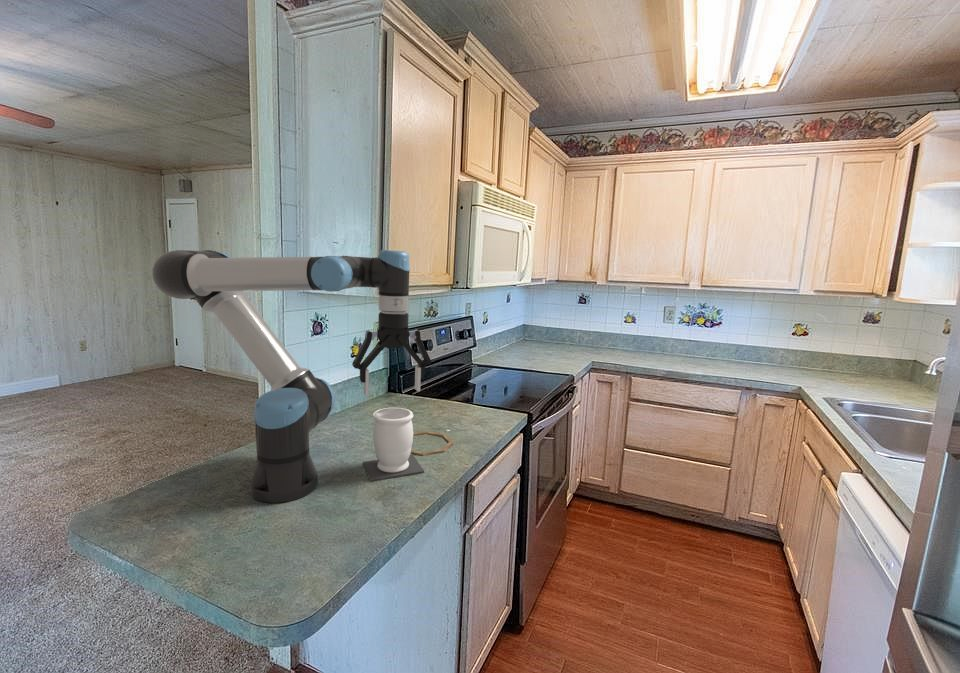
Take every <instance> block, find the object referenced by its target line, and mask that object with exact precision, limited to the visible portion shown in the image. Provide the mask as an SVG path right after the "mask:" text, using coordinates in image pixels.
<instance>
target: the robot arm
mask: <svg viewBox="0 0 960 673" xmlns="http://www.w3.org/2000/svg"><path fill="white" fill-rule="evenodd" d="M378 252H379V253H378V256H377V257H366V256H352V255H351V256H350V255H325V256H273V257H269V256H267V257H259V256H258V257H232V256H231V255H228V254H227V253H224V252H221V251H217V250H212V249H205V250H184V249H178V250H177V249H176V250H171V251H167V252H165V253H163V254H162V255H161V256H159V257H158V258H157V259H156V261H155V262H154V264H153V266H152V269H151V270H152V271H151V272H152V273H151V274H152V279H153V283H154V284H155V285H156V287H157V289H159V291H161V292H162V293H163V294H165V295H166V296H169V297H171V298H174V299H179V300H188V299H189V300H191V299H194V300H195V301H196V302H197V303H198V305H199V306H200V308H201V309H202V310H203V311H204V312H209V313H213V314H214V315H215V316H216V318H217V319H218V320H219V321H220V322H221V324H222V325H223V327H224V328H225V329H226V330H227V331H228V333H229V335H231V337H232V338H233V339H234V341H235V342H236V343H237V345H238V346H239V347H240V348H241V350H242V351H243V353H244V354H246V356H247V357H248V359H249V360H250V361H251V363H252V364H253V365H254V366H255V367H256V369H257V370H258V371H259V374H260V375H261V376H262V377H263V378H264V380H266V382H267V383H268V385H269V386H270V391H266V392H265V393H264V394H262V395H260V396H259V397H258V398H257V399H256V401H255V403H254V412H253V420H254V427H255V429H254V431H255V444H256V445H255V447H256V463H255V466H254V469H253V473H252V476H251V479H250V483H249V490H250V496H251V497H252V498H253V499H254V500H256V501H257V502H261V503H262V502H263V503H270V504H276V503H277V504H279V503H280V504H281V503H286V502H291V501H294V500H298V499H301V498H304V497H305V496H307V495H309V494H310V493H312V492H313V491H314V490H315V489H316V488H317V486H318V483H319V480H318V479H319V478H318V477H319V476H318V471H317V469H316V466H315V464H314V461H313V460H312V457H311V453H310V432H312V431H313V430H314V429H316V426H318V425H319V424H320V423H322V422H323V421H325V420H326V419H327V418H328V417H329V415H330V413H331V412H332V411H333V409H334V406H335V402H336V399H335V398H336V396H335V392H334V389H333V388H332V386H331V384H329V382H328V381H326V380H325V379H322V378H319V377H316V376H315V375H314V374H313V372H312V371H311V370H310V368H304V367H301V366H300V365H299V364H298V362H297V361H296V360H295V359H294V357H293V356H292V354H290V352H289V350H287V349H286V347H285V346H284V344H283V343H282V342H281V340H280V338H278V336H277V335H276V333H275V332H274V331H273V330H272V329H271V328H270V326H269V325H268V323H267V322H266V321H265V320H264V318H263V317H262V316H261V314H260V313H259V311H258V310H257V309H256V308H255V307H254V305H253V304H252V302H251V301H250V300H249V299H248V297H247V296H246V294H245V293H246V292H261V291H262V292H268V291H271V292H272V291H274V292H275V291H278V292H279V291H326V292H340V291H342V290H346V289H352V288H375V289H376V288H378V311H379V313H378V321H377V322H378V326H377V327H378V328H377V331H370V330H366V331H365V335H364V336H365V337H364V340H363V342H362V343H361V346H360V347H359V349H358V350H357V353H356V355H355V358H354V359H353V362H352V367H353V368H354V369H357V370H359V381H360V383H362V384H363V394H364V396H368V397H369V395H370V390H369V389H370V381H369V380H370V370H369V369H368V367H369V366H370V365H371V364H372V363H373V361H374V360H375V359H376V358H377V357H378V356H379V354H380V353H381V352H382V351H384V350H385V348H386V349H401V348H402V347H403V348H404V350H406V352H407V353H408V354H409V355H410V357H411V358H413V360H414V361H415V362H416V363H417V365H414V366H415V367H414V370H415V371H414V390H416V392H418V393H419V392H421V382H422V381H421V379H424V377H425V368H426V366H428V365H431V364H432V359H431V358H430V356H429V353H428V352H427V348H426V347H425V344H424V343H423V341H422V339H421V338H422V337H421V331H420V330H418V329H417V328H415V329H413V330H409V314H408V311H409V295H410V293H409V292H410V290H409V289H410V288H409V287H410V271H411V269H410V256H409V253H408V252H407V251H405V250H388V249H383V250H382V249H381V250H379V251H378ZM376 337H377V339H378V340H379V341H378V342H377V343H376V345H375V347H374V348H373V349H372V350H371V351H370V352H369V354H368V355H366V353H367V351H368V349H369V348H370V346H371V343H372V341H374V340H375V338H376ZM410 337H411V338H412V339H413V340H414V342H415V344H416V346H417V348H418V350H419V353H420V354H421V357H422V358H423V360H422V359H421V357H420V356H419V355H418V354H417V352H416V351H415V350H414V349H413V348H412V347H411V345H410V344H409V343H408V342H407V340H408V339H409V338H410ZM365 356H366V357H365ZM364 357H365V358H364ZM363 359H364V360H363Z"/></svg>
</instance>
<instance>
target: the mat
mask: <svg viewBox="0 0 960 673" xmlns="http://www.w3.org/2000/svg"><path fill="white" fill-rule="evenodd" d="M378 462H379V460H378V459H373V460H365V461H363V463H362V464H363V466H364V468H365V471H366V473H367V475H368V478H369V480H370V482H377V481H382V480H383V481H384V480H389V479H395V478H400V477H402V478H403V477H407V476H413V475H418V474H419V475H420V474H425V469H424V468H423V467H422V466H421V464H420V463H419V462H418V460H417V459H416V457H415V456H414V454H412V453H411V454H410V456H409V458H408V462H409V466H408V468H407V469H405V470H403V471H400V472H395V473H389V472H384V471H381V470H380V469H378V467H377V464H378Z"/></svg>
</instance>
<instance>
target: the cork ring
mask: <svg viewBox="0 0 960 673" xmlns="http://www.w3.org/2000/svg"><path fill="white" fill-rule="evenodd" d="M421 435H431V436H438V437H442V438H443V439H444V440H445V441H446V442H447V444H446V445H445V446H443V447H442V448H441V449H435V450H427V451H418V450H413V449H411V453H410V454H411V455H412V454H413V455H418V456H430V455H434V454H441V453H445V452H447V450H449V449H450V448H451V447H452V446H453V445H454V441H453V439H451V438H450V437H449V435H447V434H446V433H440V432H435V431H429V430H424V431H416V432H415V431H413V437H414V436H421Z"/></svg>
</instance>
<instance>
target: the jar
mask: <svg viewBox="0 0 960 673" xmlns="http://www.w3.org/2000/svg"><path fill="white" fill-rule="evenodd" d="M372 415H373V417H372V418H373V420H374V423H373V424H374V425H373V431H372V432H373V433H372V438H373V439H372V440H373V445H374V450H375V455H376V459H377V460H379V462H378V464H377V467H378V469H380V470H381V471H384V472H389V473H395V472H400V471H403V470H405V469H407V468H408V466H409V462H408V458H409V456H410V455H411V454H412V453H411V450H412V446H413V441H414V436H413V433H414V427H413V426H414V425H413V420H412V419H413V418H414V412H413V411H412V410H410V409H408V408H402V407H385V408H380V409H378V410H375V411H374V412H373V414H372Z"/></svg>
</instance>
